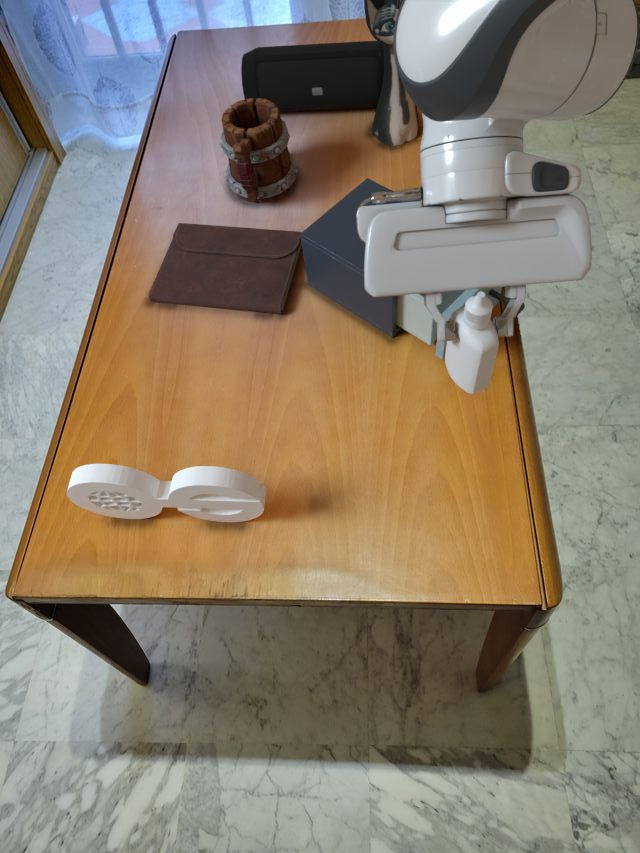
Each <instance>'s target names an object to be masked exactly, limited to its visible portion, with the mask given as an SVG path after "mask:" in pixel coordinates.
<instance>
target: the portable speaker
mask: <svg viewBox="0 0 640 853" xmlns="http://www.w3.org/2000/svg"><path fill="white" fill-rule="evenodd" d="M384 60H385V58H384V45H383V44H381V43H380V42H378V41H377V40H361V41H345V42H344V41H343V42H327V43H310V44H309V43H307V44H290V45H274V46H273V45H271V46H259V47H254V48H253V49H251V50H249V51H247V52H245V53H243V55H242V58H241V68H240V73H241V85H242V93H243V98H244V99H249V98H254V100H255V101H256V99H257V98H263V99H266V100H269V101H272V102H273V103H274V104H275V105H276V106H277V108H278V109H279V112H295V111H297V112H298V111H318V110H341V109H342V110H343V109H344V110H345V109H365V108H377V106H378V102H379V98H380V94H381V90H382V84H383V78H384Z"/></svg>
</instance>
